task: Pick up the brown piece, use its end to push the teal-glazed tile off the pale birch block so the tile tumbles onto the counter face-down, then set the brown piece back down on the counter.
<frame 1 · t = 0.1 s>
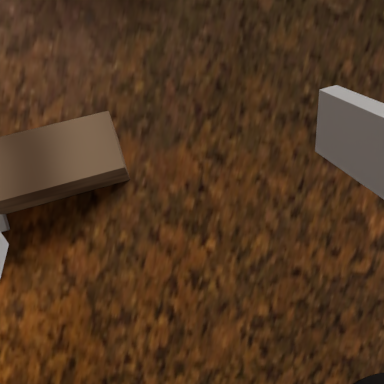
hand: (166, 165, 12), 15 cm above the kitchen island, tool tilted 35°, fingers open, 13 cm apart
brown piece: (63, 175, 27), on the kitchen island
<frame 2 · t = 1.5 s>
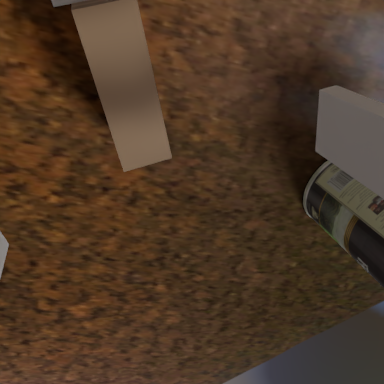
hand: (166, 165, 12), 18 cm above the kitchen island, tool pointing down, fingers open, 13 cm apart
brown piece: (115, 68, 27), on the kitchen island
coffee can: (337, 186, 42), on the kitchen island
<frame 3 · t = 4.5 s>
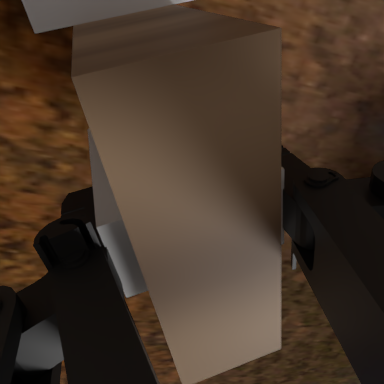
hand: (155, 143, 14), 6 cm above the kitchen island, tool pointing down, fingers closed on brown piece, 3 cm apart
brown piece: (153, 139, 14), point 6 cm above the kitchen island, touching gripper
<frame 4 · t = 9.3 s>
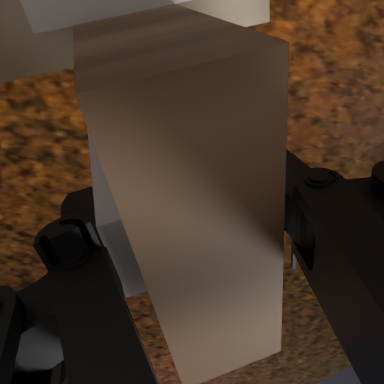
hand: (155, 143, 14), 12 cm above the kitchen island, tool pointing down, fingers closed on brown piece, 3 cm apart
brown piece: (153, 139, 14), point 12 cm above the kitchen island, touching gripper
when the fingers open (1 cm above the kitchen island, at t = 15.2 s): brown piece stays where it is, on the kitchen island.
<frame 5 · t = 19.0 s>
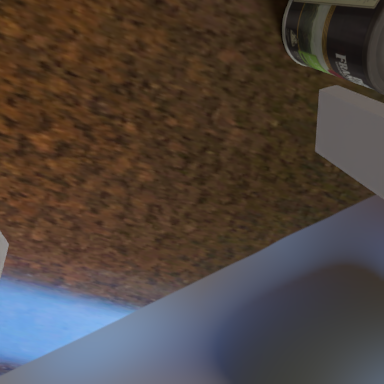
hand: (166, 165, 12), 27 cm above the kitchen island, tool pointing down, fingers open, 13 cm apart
coffee can: (319, 20, 39), on the kitchen island
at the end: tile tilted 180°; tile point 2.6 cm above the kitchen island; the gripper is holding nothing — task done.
